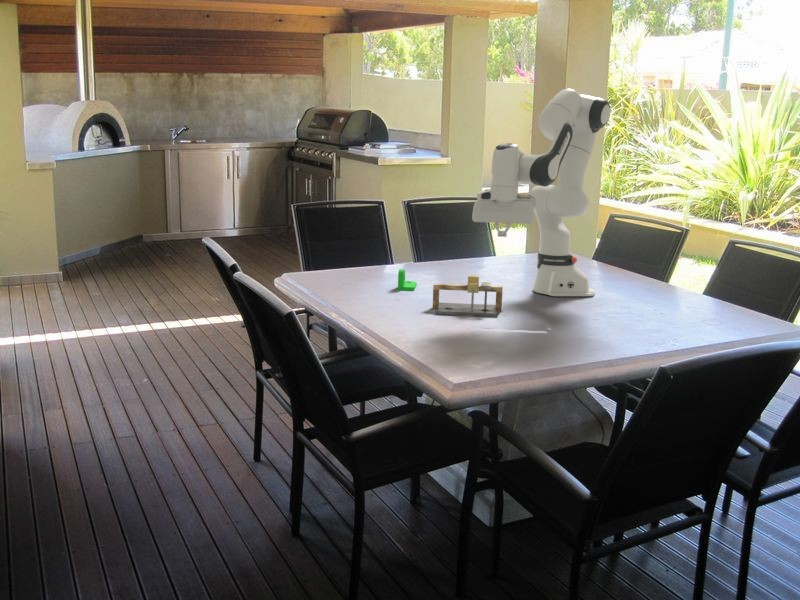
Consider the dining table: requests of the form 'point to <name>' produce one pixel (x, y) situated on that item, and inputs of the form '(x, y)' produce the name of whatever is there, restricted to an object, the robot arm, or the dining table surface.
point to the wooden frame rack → (483, 287)
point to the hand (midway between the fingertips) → (502, 236)
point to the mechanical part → (405, 282)
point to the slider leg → (473, 286)
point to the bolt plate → (466, 310)
